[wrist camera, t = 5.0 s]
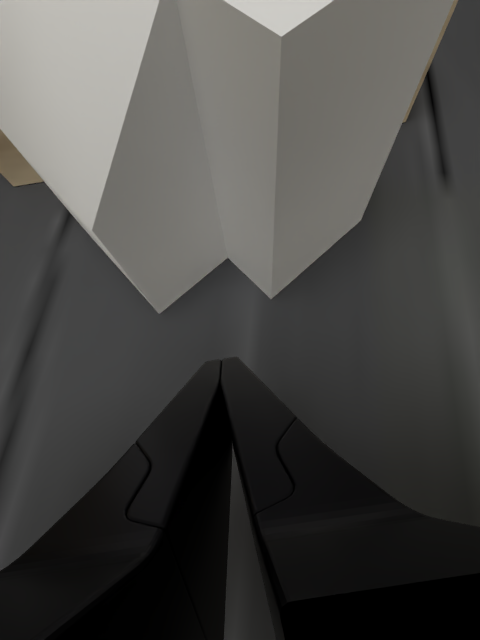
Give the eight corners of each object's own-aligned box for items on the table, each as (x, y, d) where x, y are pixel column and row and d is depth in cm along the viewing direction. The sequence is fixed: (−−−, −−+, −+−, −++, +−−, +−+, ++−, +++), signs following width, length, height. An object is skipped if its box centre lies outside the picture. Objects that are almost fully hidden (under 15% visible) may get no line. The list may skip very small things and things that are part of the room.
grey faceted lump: (360, 220, 19) (504, -118, 7) (200, 361, 17) (66, 185, 5) (230, 119, 22) (193, -225, 11) (82, 227, 20) (-158, -59, 9)
